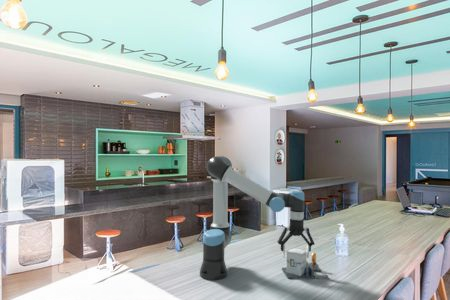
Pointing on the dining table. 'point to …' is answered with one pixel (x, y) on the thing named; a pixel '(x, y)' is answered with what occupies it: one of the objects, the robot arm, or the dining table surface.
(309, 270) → the bed
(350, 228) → the dining table surface
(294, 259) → the ink box
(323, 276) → the rails
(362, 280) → the dining table surface
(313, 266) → the lever
